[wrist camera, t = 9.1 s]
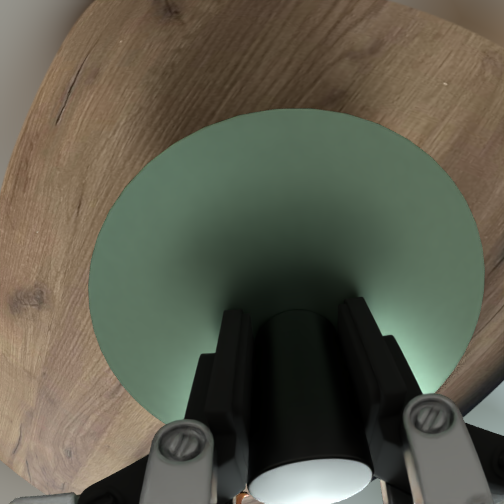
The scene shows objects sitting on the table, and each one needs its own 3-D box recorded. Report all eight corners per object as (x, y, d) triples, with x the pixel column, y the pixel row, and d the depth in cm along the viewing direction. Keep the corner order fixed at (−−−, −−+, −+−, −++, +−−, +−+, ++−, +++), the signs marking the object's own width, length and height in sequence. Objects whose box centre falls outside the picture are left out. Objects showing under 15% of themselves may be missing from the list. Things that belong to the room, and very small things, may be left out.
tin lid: (62, 152, 9) (-93, 203, 3) (478, 112, 8) (630, 135, 2) (161, 437, 14) (133, 542, 8) (431, 412, 13) (471, 510, 7)
